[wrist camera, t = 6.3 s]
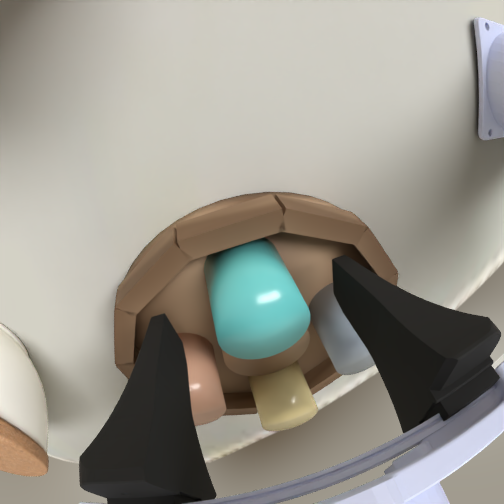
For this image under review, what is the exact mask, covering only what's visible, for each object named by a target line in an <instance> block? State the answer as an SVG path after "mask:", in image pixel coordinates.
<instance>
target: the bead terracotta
mask: <svg viewBox="0 0 504 504" xmlns="http://www.w3.org/2000/svg"><path fill="white" fill-rule="evenodd" d="M177 334H178V336H179V337H180V339H181V341H182V342H183V346H184V351H185V356H186V361H187V367H188V378H189V389H190V399H191V408H192V415H193V420H194V424H195V426H198V425H203V424H207V423H210V422H213V421H215V420H217V419H218V418H220V417H221V416H222V415H223V414H224V413H225V412H226V404H225V400H224V395H223V391H222V386H221V382H220V377H219V373H218V368H217V363H216V358H215V353H214V348H213V345H212V344H211V342H210V341H209V340H208V339H206V338H205V337H203V336H200V335H197V334H193V333H177Z"/></svg>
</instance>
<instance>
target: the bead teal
mask: <svg viewBox="0 0 504 504" xmlns="http://www.w3.org/2000/svg"><path fill="white" fill-rule="evenodd" d="M204 275H205V281H206V286H207V291H208V296H209V301H210V306H211V311H212V316H213V321H214V326H215V331H216V336H217V340H218V343H219V345H220V347H221V348H222V349H223V351H225V352H226V353H227V354H229V355H231V356H233V357H236V358H241V359H261V358H266V357H270V356H273V355H276V354H278V353H281V352H283V351H285V350H286V349H288V348H290V347H291V346H293V345H294V344H295V343H296V342H297V341H298V340H300V338H301V337H302V336H303V335H304V334H305V332H306V330H307V329H308V326H309V324H310V311H309V308H308V306H307V304H306V302H305V301H304V299H303V297H302V295H301V293H300V291H299V289H298V287H297V285H296V284H295V282H294V280H293V278H292V276H291V274H290V272H289V271H288V269H287V267H286V265H285V263H284V261H283V259H282V258H281V256H280V254H279V252H278V250H277V248H276V247H275V245H274V244H273V243H272V242H271V241H270V240H268V239H267V238H265V237H263V238H260V239H257V240H253V241H250V242H247V243H244V244H241V245H238V246H235V247H231V248H228V249H225V250H222V251H219V252H216V253H213V254H209V255H208V256H207V258H206V260H205V264H204Z"/></svg>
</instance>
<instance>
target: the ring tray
mask: <svg viewBox="0 0 504 504" xmlns="http://www.w3.org/2000/svg"><path fill="white" fill-rule="evenodd" d="M263 237H265V238H267V239H268V240H270V241H271V242H272V243H273V244H274V245H275V247H276V248H277V250H278V252H279V254H280V256H281V258H282V259H283V261H284V263H285V265H286V267H287V269H288V271H289V272H290V274H291V276H292V278H293V280H294V282H295V284H296V285H297V287H298V289H299V291H300V293H301V295H302V297H303V299H304V301H305V302H306V304H307V306H308V307H309V304H310V302H311V300H312V299H313V297H314V296H315V295H316V294H317V293H318V292H319V291H320V290H321V289H322V288H324V287H325V286H327V285H329V284H330V283H333V271H332V259H334V258H336V257H339V256H342V255H346V256H348V257H349V258H351V259H353V260H354V261H356V262H357V263H359V264H360V265H362V266H363V267H365V268H367V269H368V270H370V271H371V272H373V273H374V274H376V275H378V276H379V277H381V278H383V279H384V280H386V281H388V282H389V283H391V284H393V285H395V286H397V279H398V273H397V272H398V271H397V269H396V268H395V266H394V265H393V263H392V262H391V260H390V258H389V257H388V255H387V254H386V252H385V251H384V249H383V248H382V246H381V245H380V243H379V242H378V240H377V239H376V237H375V236H374V235H373V233H372V232H371V230H370V229H369V228H368V227H367V226H366V225H365V224H364V223H363V222H362V221H361V220H360V219H359V218H358V217H357V216H356V215H355V214H353V213H352V212H349V211H345V210H342V209H340V208H338V207H336V206H334V205H332V204H331V203H329V202H326V201H323V200H320V199H317V198H314V197H311V196H307V195H301V194H295V193H287V192H263V193H254V194H245V195H240V196H236V197H232V198H228V199H224V200H220V201H218V202H215V203H212V204H210V205H207V206H204V207H202V208H199V209H197V210H195V211H193V212H192V213H190V214H188V215H186V216H184V217H182V218H180V219H179V220H177V221H176V222H174V223H173V224H171V225H170V226H169V227H167V228H166V229H165V230H163V231H162V232H160V233H159V234H158V235H157V236H156V237H155V238H154V239H153V240H152V241H151V242H150V243H149V244H148V245H147V246H146V247H145V248H144V249H143V250H142V251H141V253H140V254H139V255H138V257H137V258H136V259H135V261H134V262H133V263H132V265H131V267H130V269H129V271H128V273H127V275H126V277H125V279H124V280H123V282H122V283H121V284H120V285H119V286H118V289H117V295H116V302H115V310H114V346H115V364H116V366H117V368H118V369H119V370H120V371H121V372H122V373H123V374H124V375H125V376H126V377H127V378H128V379H129V378H130V375H131V373H132V370H133V368H134V365H135V363H136V360H137V357H138V355H139V352H140V349H141V346H142V343H143V340H144V337H145V334H146V331H147V328H148V325H149V322H150V319H151V317H153V316H157V315H160V314H163V313H165V314H166V316H167V318H168V319H169V321H170V323H171V324H172V326H173V328H174V329H175V331H176V333H193V334H197V335H200V336H203V337H205V338H206V339H208V340H209V341H210V342H211V344H212V345H213V348H214V353H215V358H216V363H217V368H218V373H219V377H220V382H221V386H222V391H223V395H224V400H225V404H226V412H225V413H224V414H223V415H222V416H224V415H244V414H256V413H257V412H258V410H257V407H256V404H255V400H254V397H253V393H252V390H251V387H250V383H249V380H248V376H261V375H266V374H271V373H274V372H277V371H280V370H282V369H284V368H286V367H288V366H289V365H291V364H293V363H294V362H295V361H297V360H298V363H299V365H300V367H301V370H302V372H303V375H304V377H305V379H306V382H307V384H308V386H309V389H310V391H311V393H312V395H313V394H315V393H316V392H318V391H319V390H321V389H322V388H324V387H325V386H327V385H328V384H330V383H331V382H333V381H334V380H336V379H337V378H339V377H340V376H342V374H339V373H338V372H337V371H336V369H335V367H334V365H333V363H332V361H331V359H330V357H329V355H328V353H327V351H326V349H325V347H324V345H323V343H322V341H321V340H320V338H319V336H318V334H317V332H316V330H315V328H314V326H313V324H312V322H311V320H310V324H309V326H308V329H307V330H306V332H305V334H304V335H303V336H302V337H301V338H300V340H298V341H297V342H296V343H295V344H294V345H293V346H291V347H290V348H288V349H286V350H285V351H283V352H281V353H278V354H276V355H273V356H270V357H266V358H261V359H241V358H236V357H233V356H231V355H229V354H227V353H226V352H225V351H223V349H222V348H221V347H220V345H219V343H218V340H217V336H216V331H215V326H214V321H213V316H212V311H211V306H210V301H209V296H208V291H207V286H206V281H205V275H204V264H205V260H206V258H207V256H208V255H209V254H213V253H216V252H219V251H222V250H225V249H228V248H231V247H235V246H238V245H241V244H244V243H247V242H250V241H253V240H257V239H260V238H263Z"/></svg>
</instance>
